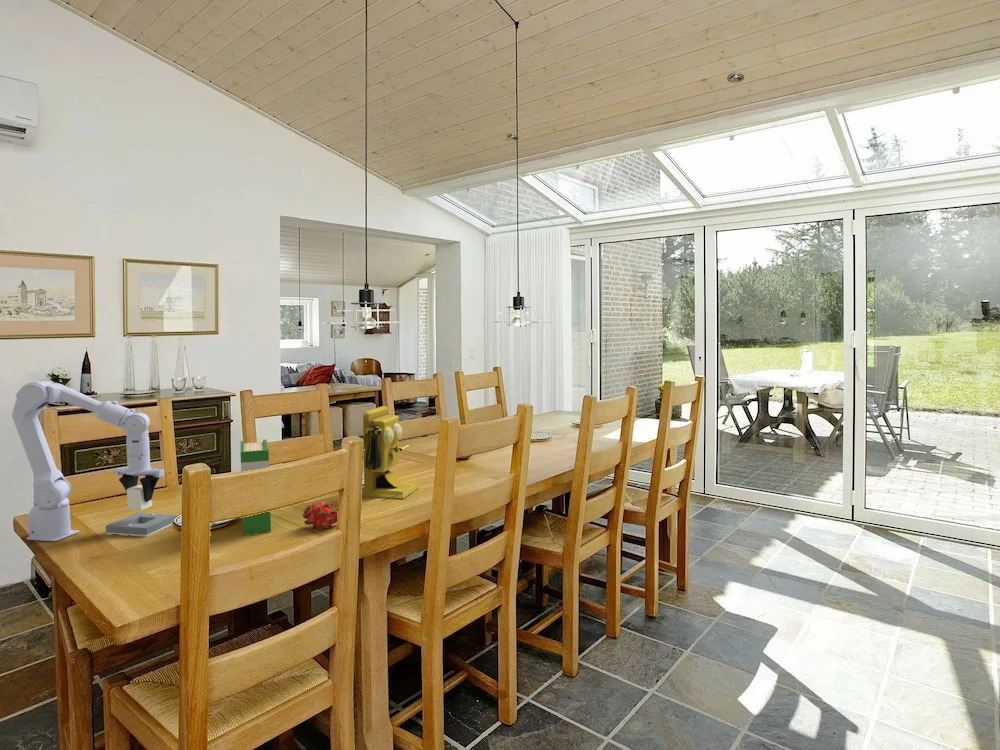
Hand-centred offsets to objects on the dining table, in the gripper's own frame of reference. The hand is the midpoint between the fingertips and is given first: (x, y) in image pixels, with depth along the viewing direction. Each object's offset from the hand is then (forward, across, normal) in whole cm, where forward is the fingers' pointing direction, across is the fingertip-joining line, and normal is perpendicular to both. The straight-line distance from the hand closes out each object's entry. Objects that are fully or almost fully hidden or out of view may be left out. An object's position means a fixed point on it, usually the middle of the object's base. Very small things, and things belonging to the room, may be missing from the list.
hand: (140, 500), depth 178 cm
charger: (+2, 0, 0) cm, 2 cm away
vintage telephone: (+9, +60, +48) cm, 77 cm away
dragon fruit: (+9, +52, +10) cm, 54 cm away
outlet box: (+8, 0, 0) cm, 8 cm away
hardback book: (+9, +31, +9) cm, 33 cm away
